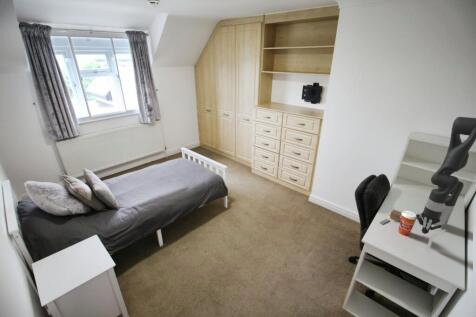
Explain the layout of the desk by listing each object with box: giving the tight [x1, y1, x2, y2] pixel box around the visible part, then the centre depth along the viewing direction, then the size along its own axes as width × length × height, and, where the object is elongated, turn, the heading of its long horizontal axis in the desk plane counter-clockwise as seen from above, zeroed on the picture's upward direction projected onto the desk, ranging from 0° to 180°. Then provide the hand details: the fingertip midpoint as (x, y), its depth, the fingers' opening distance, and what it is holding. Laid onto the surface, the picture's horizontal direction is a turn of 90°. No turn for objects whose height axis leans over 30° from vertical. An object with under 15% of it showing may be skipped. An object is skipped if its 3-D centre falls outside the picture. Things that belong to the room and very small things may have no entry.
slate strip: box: [379, 218, 391, 225], centre depth 149 cm, size 8×2×1 cm, turn 118°
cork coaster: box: [387, 214, 401, 223], centre depth 152 cm, size 8×8×1 cm
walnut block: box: [389, 208, 403, 221], centre depth 151 cm, size 5×5×5 cm
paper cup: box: [398, 210, 418, 237], centre depth 137 cm, size 8×8×14 cm
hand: (424, 232), depth 129 cm, fingers closed
